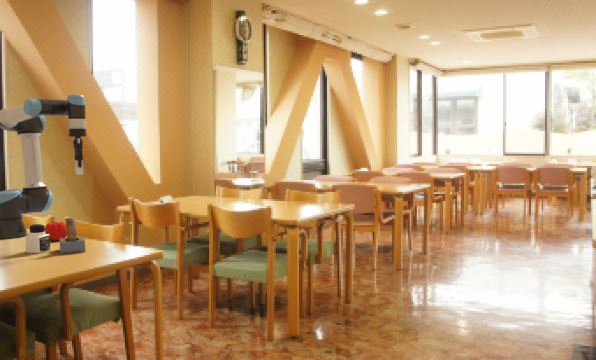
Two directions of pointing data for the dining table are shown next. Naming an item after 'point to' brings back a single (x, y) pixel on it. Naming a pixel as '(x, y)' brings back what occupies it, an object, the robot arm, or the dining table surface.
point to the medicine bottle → (37, 239)
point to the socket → (72, 245)
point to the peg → (71, 229)
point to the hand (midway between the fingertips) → (79, 173)
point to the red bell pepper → (56, 230)
